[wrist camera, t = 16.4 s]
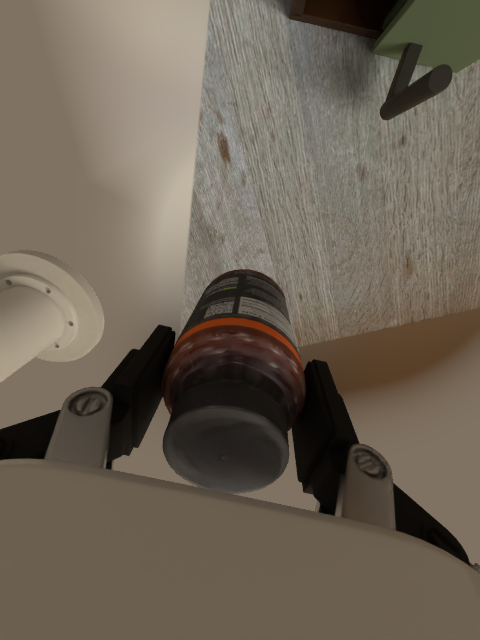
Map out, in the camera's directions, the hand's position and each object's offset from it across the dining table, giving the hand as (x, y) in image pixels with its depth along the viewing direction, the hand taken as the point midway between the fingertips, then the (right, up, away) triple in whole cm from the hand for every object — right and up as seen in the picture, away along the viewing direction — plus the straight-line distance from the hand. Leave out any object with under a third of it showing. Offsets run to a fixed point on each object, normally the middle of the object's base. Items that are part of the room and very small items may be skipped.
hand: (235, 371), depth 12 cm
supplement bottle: (+1, +3, +6) cm, 7 cm away
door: (+17, +26, +15) cm, 34 cm away
